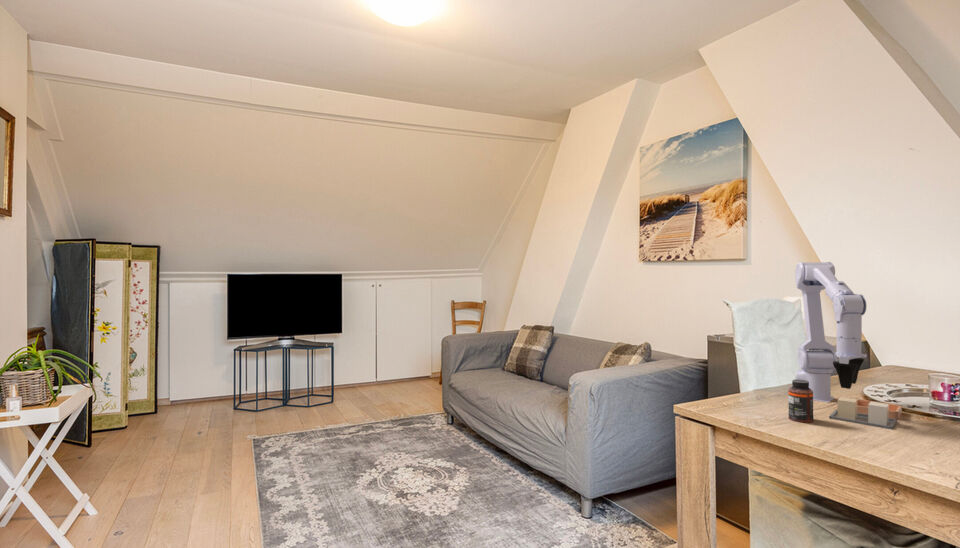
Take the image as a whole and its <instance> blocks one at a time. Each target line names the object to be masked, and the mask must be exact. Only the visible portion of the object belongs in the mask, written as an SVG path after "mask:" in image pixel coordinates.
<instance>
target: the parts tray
mask: <svg viewBox="0 0 960 548" xmlns="http://www.w3.org/2000/svg"><path fill="white" fill-rule="evenodd" d="M837 411H838V408H837V409H835V410H834V411H833V412H832V413H830V415H829V416H828V419H829V420H830V419H831V420H835V421H842V422H846V423H853V424H860V425H864V426H870V427H877V428H881V429H886V430H893V429H894V428H895V426H896V424H897V422H898V420H897V419H892V418H889V423H888V424H887V426H886V425H880V424H875V423H869V422H868V415H867V414H861V413H857V418H856V419H855V420H851V419H846V418H840V417H837Z"/></svg>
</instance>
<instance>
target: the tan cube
mask: <svg viewBox="0 0 960 548" xmlns="http://www.w3.org/2000/svg"><path fill="white" fill-rule="evenodd" d="M857 399H858V398H848V397H843V396H840V397H839V398H838V399H837V410H838V411H837V417H840V418H846V419H851V420H855V419H856V418H857V403H858V400H857Z"/></svg>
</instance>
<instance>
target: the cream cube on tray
mask: <svg viewBox="0 0 960 548" xmlns="http://www.w3.org/2000/svg"><path fill="white" fill-rule="evenodd" d="M877 402H878V401H875V402H870V403H869V404H868V422H869V423H875V424H880V425H886V426H887V424H888V423H889V404H890V403H888V404H884V403H885V402H881V403H877Z"/></svg>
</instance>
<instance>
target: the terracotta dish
mask: <svg viewBox="0 0 960 548" xmlns="http://www.w3.org/2000/svg"><path fill="white" fill-rule="evenodd" d="M856 399H857V400H858V403H857V413H861V414H867V415H868V404H869V403H870V402H877V403H882V402H880V401H873V400H867V399H866V400H865V399H859V398H856ZM883 403H884V404H889V418H892V419H897V421H899V419H900V417H901V415H902V414H903V405H900V404H894V403H887V402H883Z"/></svg>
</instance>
